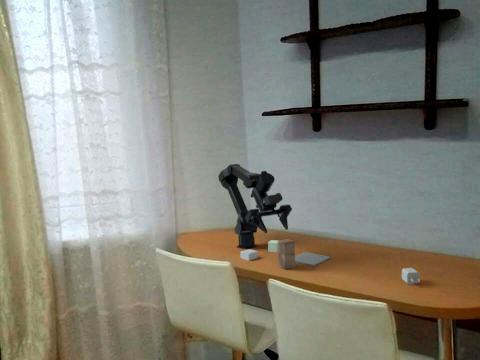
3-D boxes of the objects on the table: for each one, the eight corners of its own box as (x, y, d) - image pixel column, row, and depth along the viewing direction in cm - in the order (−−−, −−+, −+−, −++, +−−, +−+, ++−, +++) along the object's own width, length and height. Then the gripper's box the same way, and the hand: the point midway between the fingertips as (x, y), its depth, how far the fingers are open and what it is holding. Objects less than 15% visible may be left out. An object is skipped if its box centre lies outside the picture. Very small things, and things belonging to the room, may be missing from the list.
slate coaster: (287, 260, 172) (287, 259, 172) (305, 253, 181) (305, 251, 181) (313, 266, 164) (313, 264, 164) (330, 258, 173) (330, 256, 172)
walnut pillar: (278, 266, 166) (277, 240, 164) (288, 264, 168) (288, 238, 166) (284, 269, 162) (284, 243, 160) (295, 267, 164) (294, 241, 162)
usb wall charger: (413, 279, 146) (413, 267, 146) (422, 286, 139) (423, 274, 139) (401, 280, 146) (401, 268, 146) (410, 287, 139) (410, 275, 139)
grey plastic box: (240, 258, 178) (240, 251, 178) (249, 256, 181) (249, 249, 181) (248, 261, 174) (248, 254, 174) (258, 258, 177) (257, 251, 177)
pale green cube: (268, 251, 186) (267, 242, 185) (271, 249, 189) (270, 240, 189) (277, 252, 184) (277, 243, 184) (280, 249, 188) (279, 240, 187)
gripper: (247, 189, 168) (262, 222, 159) (288, 184, 176) (305, 215, 167) (239, 206, 176) (253, 239, 167) (279, 201, 184) (294, 232, 175)
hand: (277, 231), depth 169 cm, fingers open, 9 cm apart
